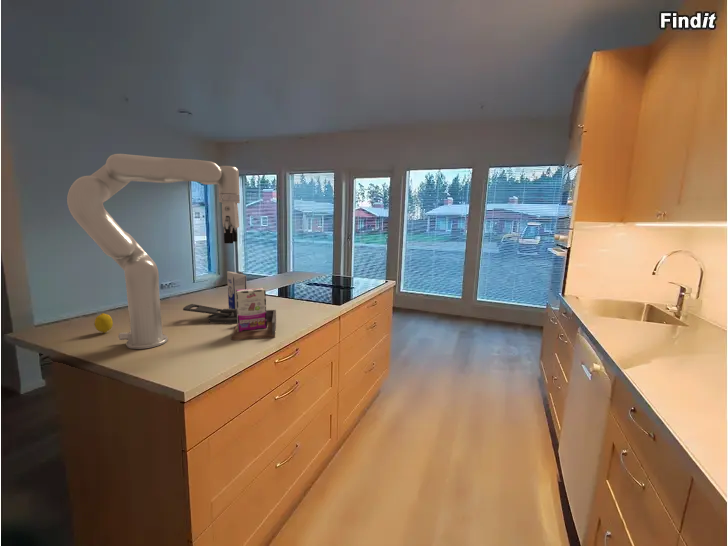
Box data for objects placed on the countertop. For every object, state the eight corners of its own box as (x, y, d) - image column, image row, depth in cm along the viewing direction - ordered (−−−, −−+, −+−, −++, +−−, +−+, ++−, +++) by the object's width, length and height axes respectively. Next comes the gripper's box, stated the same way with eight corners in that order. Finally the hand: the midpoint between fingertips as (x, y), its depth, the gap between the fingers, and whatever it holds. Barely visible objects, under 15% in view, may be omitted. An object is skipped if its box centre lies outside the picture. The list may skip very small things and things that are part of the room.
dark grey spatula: (190, 303, 149) (245, 304, 150) (191, 317, 150) (246, 318, 151) (180, 308, 141) (238, 309, 141) (181, 323, 142) (239, 324, 142)
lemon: (117, 331, 129) (115, 312, 128) (102, 336, 124) (100, 316, 123) (106, 329, 131) (104, 310, 129) (92, 334, 125) (89, 314, 124)
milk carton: (228, 310, 162) (226, 270, 159) (241, 308, 167) (240, 269, 164) (233, 313, 157) (232, 272, 154) (247, 311, 162) (246, 271, 158)
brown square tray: (231, 340, 123) (230, 324, 122) (238, 325, 141) (237, 311, 140) (275, 337, 127) (274, 322, 126) (276, 323, 144) (275, 309, 143)
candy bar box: (265, 325, 138) (264, 287, 135) (267, 328, 133) (266, 289, 130) (236, 328, 133) (235, 289, 130) (238, 332, 128) (236, 291, 126)
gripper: (236, 198, 120) (237, 244, 123) (242, 200, 137) (243, 241, 140) (214, 197, 119) (216, 243, 121) (223, 199, 135) (224, 240, 138)
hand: (230, 242), depth 131 cm, fingers open, 9 cm apart
